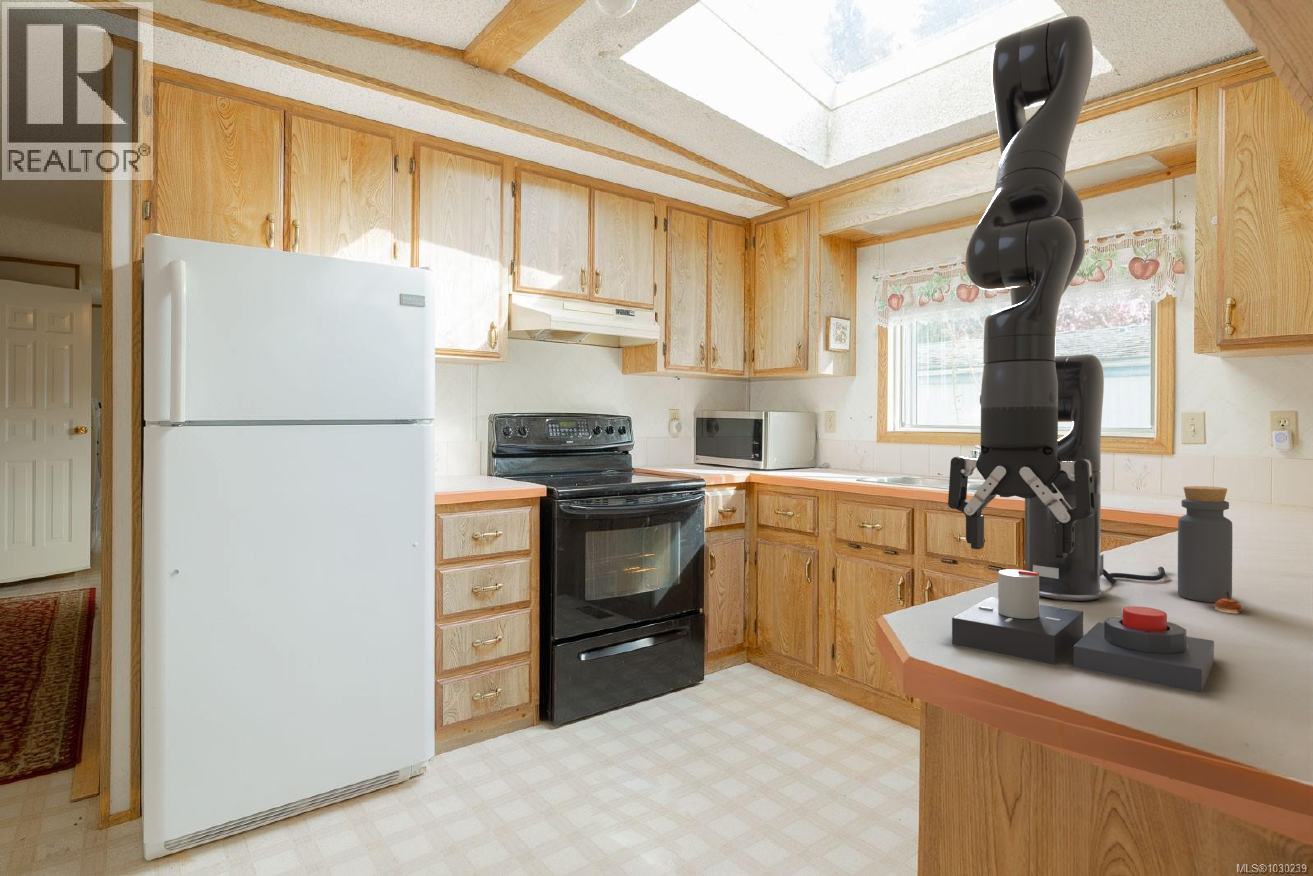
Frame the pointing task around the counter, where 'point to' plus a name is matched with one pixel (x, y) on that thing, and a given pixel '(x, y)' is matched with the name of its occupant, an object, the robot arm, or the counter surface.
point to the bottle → (1204, 545)
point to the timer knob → (1018, 594)
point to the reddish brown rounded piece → (1228, 605)
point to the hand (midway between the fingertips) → (1017, 552)
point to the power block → (1146, 654)
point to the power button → (1144, 618)
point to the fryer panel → (1018, 631)
